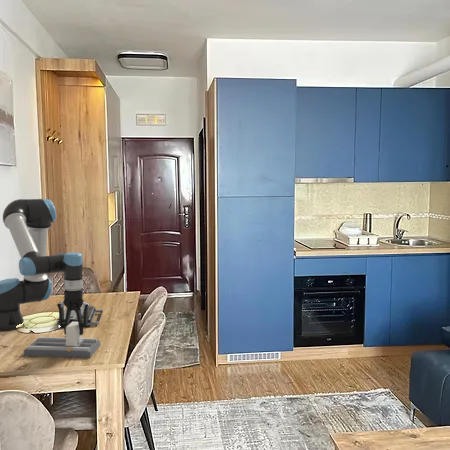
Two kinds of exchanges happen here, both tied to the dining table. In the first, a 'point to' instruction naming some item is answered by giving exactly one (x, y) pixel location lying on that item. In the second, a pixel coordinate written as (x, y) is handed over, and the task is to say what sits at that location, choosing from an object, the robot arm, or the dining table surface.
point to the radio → (90, 316)
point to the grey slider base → (61, 348)
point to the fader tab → (72, 335)
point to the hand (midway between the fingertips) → (73, 341)
